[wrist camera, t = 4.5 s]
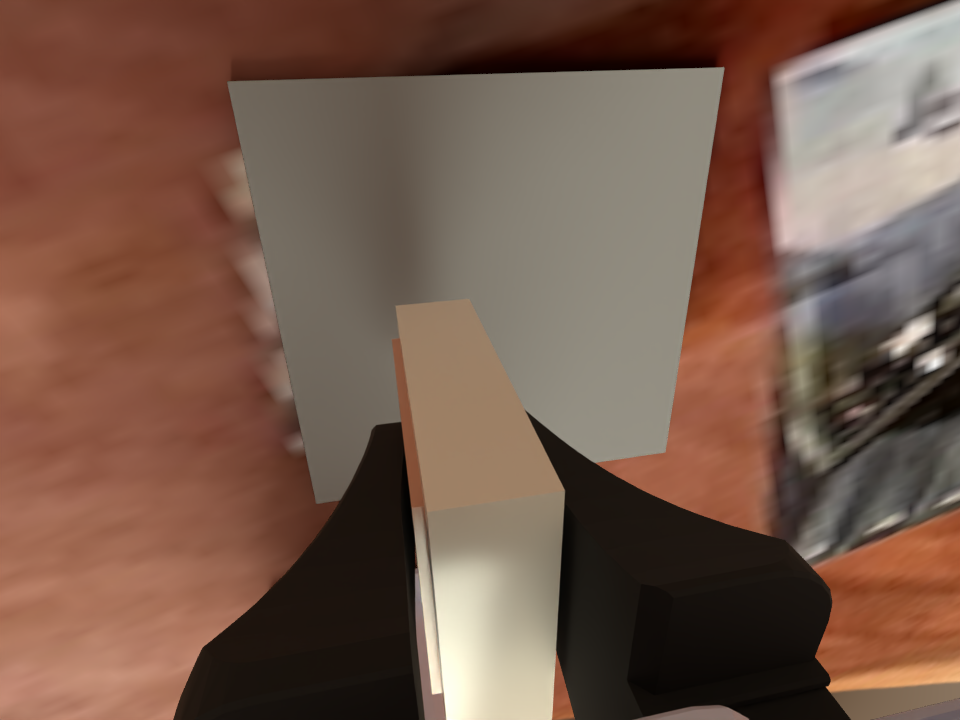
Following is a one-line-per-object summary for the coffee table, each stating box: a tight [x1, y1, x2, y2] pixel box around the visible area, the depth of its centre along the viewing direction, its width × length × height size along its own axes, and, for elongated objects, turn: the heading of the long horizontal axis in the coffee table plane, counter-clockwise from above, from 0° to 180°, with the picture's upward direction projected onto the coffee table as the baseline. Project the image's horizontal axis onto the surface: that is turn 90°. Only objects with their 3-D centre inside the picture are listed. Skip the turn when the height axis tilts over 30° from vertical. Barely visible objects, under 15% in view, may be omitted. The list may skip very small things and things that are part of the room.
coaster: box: [392, 299, 565, 720], centre depth 13 cm, size 6×2×8 cm, turn 2°
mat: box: [227, 67, 724, 504], centre depth 21 cm, size 16×16×1 cm
